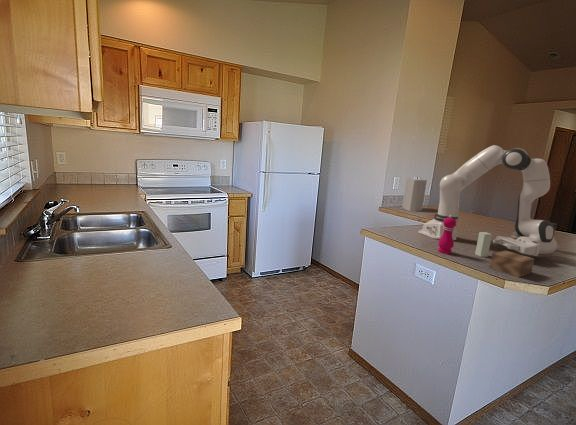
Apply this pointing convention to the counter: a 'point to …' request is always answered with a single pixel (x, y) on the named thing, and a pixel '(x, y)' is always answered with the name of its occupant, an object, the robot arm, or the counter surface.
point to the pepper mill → (447, 236)
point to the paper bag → (414, 194)
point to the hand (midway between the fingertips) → (501, 244)
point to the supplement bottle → (515, 235)
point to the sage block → (483, 244)
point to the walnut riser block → (512, 263)
